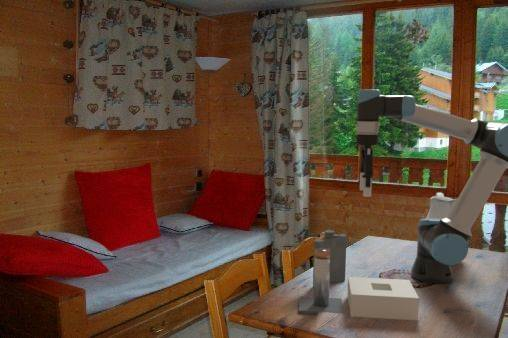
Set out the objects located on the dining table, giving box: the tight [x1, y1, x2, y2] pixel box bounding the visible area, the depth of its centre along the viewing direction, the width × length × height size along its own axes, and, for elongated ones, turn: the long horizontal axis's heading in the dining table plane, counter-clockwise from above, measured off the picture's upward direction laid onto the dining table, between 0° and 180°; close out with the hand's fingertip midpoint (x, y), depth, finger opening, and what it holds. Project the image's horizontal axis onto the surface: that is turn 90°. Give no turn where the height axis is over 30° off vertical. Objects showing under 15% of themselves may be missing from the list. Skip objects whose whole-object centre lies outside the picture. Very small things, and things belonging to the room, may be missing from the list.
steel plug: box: [313, 248, 330, 307], centre depth 156 cm, size 5×5×18 cm
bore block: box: [346, 276, 420, 321], centre depth 154 cm, size 20×16×8 cm
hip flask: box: [312, 229, 347, 289], centre depth 178 cm, size 16×4×20 cm, turn 128°
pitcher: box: [426, 192, 458, 219], centre depth 214 cm, size 24×17×28 cm
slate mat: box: [298, 295, 345, 316], centre depth 157 cm, size 14×12×1 cm
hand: (365, 193), depth 172 cm, fingers open, 13 cm apart
